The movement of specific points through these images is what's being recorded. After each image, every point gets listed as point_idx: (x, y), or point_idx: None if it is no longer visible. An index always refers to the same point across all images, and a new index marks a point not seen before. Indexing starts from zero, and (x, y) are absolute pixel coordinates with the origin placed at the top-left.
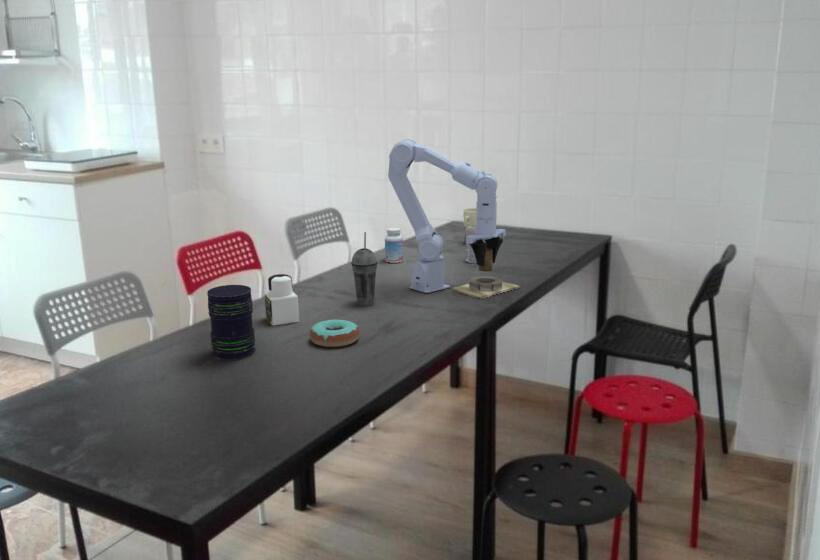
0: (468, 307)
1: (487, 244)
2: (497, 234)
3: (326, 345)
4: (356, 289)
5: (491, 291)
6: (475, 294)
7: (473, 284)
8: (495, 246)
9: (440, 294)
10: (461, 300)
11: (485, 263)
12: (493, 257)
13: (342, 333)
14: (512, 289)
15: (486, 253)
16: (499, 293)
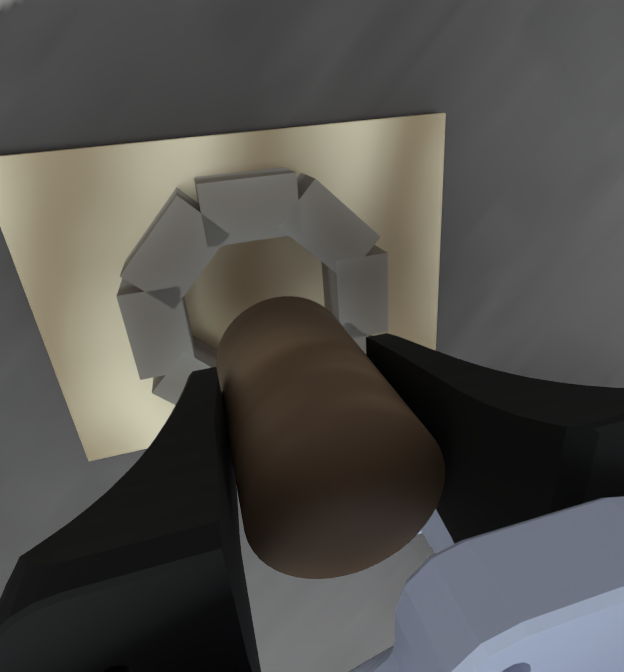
0: (619, 15)
1: (571, 423)
2: (532, 641)
3: None
4: None
5: (301, 173)
6: (436, 184)
7: (384, 297)
8: (221, 493)
9: (512, 349)
10: (529, 181)
11: (354, 343)
12: (219, 402)
13: None
14: (80, 148)
15: (397, 401)
16: (247, 131)
